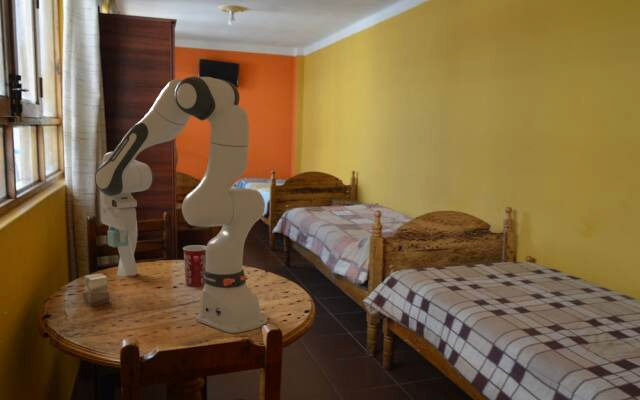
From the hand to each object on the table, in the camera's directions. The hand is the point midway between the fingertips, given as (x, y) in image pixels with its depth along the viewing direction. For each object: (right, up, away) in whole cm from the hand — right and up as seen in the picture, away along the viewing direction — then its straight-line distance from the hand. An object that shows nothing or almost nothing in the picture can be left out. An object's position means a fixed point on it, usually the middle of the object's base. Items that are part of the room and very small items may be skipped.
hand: (118, 240), depth 169 cm
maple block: (-3, -16, -10) cm, 19 cm away
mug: (+23, -17, +12) cm, 32 cm away
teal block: (0, -2, 0) cm, 2 cm away
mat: (-3, -19, -9) cm, 22 cm away
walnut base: (-3, -19, -9) cm, 21 cm away
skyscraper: (-5, -15, +21) cm, 26 cm away
